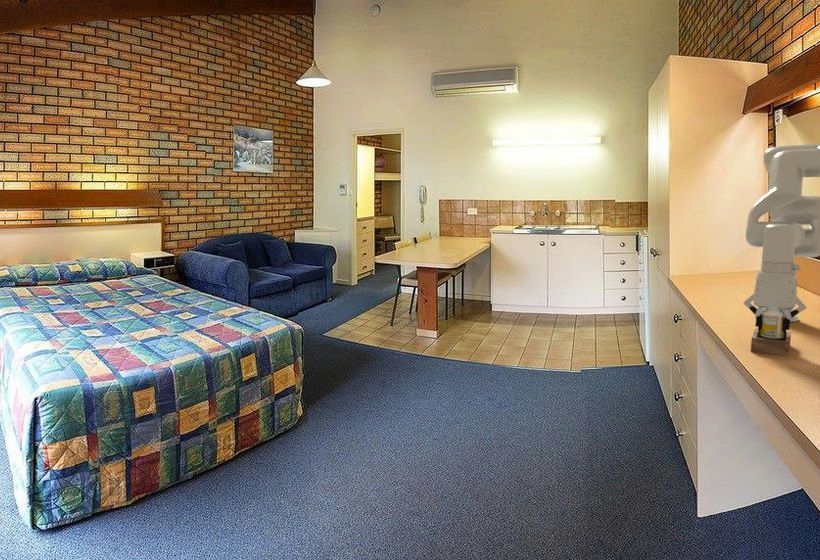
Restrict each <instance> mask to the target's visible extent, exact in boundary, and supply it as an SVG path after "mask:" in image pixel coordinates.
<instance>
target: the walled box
mask: <svg viewBox="0 0 820 560" xmlns="http://www.w3.org/2000/svg"><path fill="white" fill-rule="evenodd" d="M791 339H792V332H789V331H786V333H784V332H783V337H782V338H779V339H772V338H766V337H763V336H761V330H758V328H755V329H754V331H753V333H752V335H751V341H750V344H751V345H750V353H751V352H752V353H759V354H767V355H775V356H785V357H789V356H790V350H791V349H790V348H791Z"/></svg>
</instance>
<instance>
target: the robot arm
mask: <svg viewBox="0 0 820 560" xmlns="http://www.w3.org/2000/svg"><path fill="white" fill-rule="evenodd" d="M763 164H764V167H765V171H766V173H767V175H768V177H769V179H768V189H767V193H766V194H764V195H763V196H762V197H761V198H759V199H758V200H757V201H756V202H755V203H754V205H753V206H751V209H750V210H749V213H748V216H747V221H746V229H745V241H746V243H747V245H749V246H751V247H754V248H755V247H756V248H762V251H761V252H762V253H761V265H760V266H761V268H760V271H758V272H757V275H756V279H755V284H754V290H753V293H752V294H751V295H750V296H749V297H747V298H746V299H745V300H744V301H743V305H744V306H745V307H747V309H749V310H750V311H751V312H752V314H754V316H755V327H758V328H757V329H758V330H761V324H762V312H763V311H764V310H766V307H776V308H780V309H781V311H783V312H784V314H785V315H784V326H783V332H784V333H786V332H787V330H790V328H791V327H790V325H791V323H794V322H798V320H799V316H798V315H799V314H800V313H802V312H804V311H805V310H806V309H807V305H806V304H804V302H803V301H802V300H801V299H800V298H799V297H798V296H797V293H798V287H797V286H798V283H797V282H798V278H797V270H798V271H799V270H800V264H796V263H794V262H795V261H794V260H795V257H800V258H802V257H803V258H816V257H820V196H816V195H806V196H804V195H803V194H802V193H803V192H802V190H803V180H804V178H817V177H818V178H820V143H817V144H815V143H813V144H793V145H790V144H789V145H780V146H778V145H777V146H773V147H770V148H767V149H766V150H765V152H764V153H763ZM767 213H769V218H770V220H771V221H759V219H760V218H761V217H762V216H764V215H765V214H767ZM803 226H808V227H809V228H804V227H803ZM752 302H753V304H752ZM796 305H797V308H795V307H796ZM794 308H795V309H794Z"/></svg>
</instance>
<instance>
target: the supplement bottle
mask: <svg viewBox="0 0 820 560" xmlns="http://www.w3.org/2000/svg"><path fill="white" fill-rule="evenodd" d="M784 315H785V314H784V312H783V311H781V309H780V308H776V307H766V310H764V311H763V312H762V324H761V336H763V337H766V338H772V339H779V338H782V337H783V326H784Z"/></svg>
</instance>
